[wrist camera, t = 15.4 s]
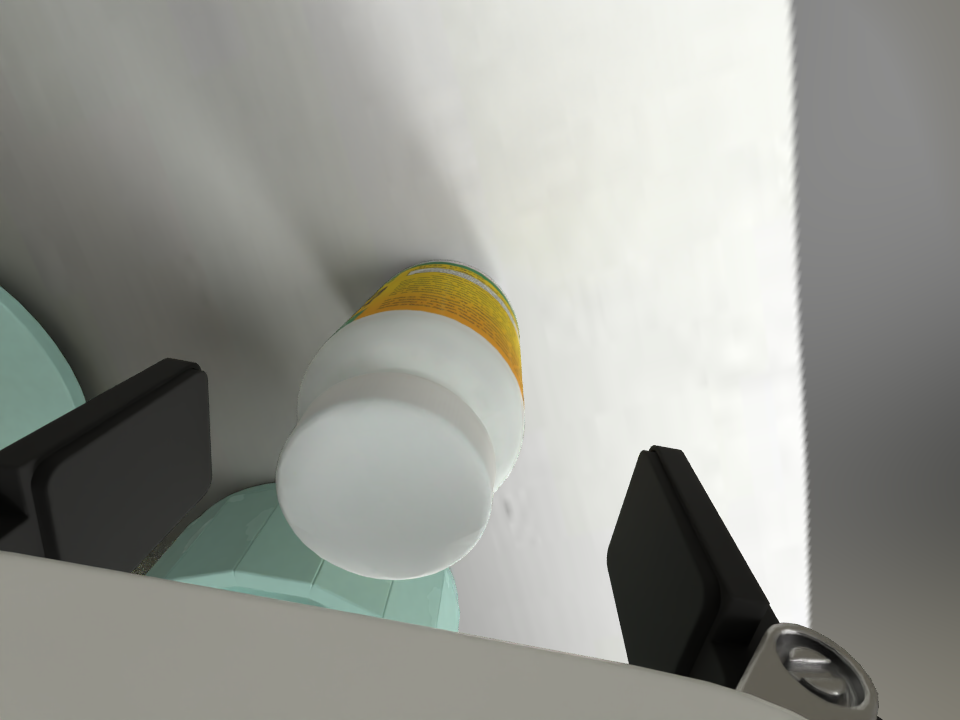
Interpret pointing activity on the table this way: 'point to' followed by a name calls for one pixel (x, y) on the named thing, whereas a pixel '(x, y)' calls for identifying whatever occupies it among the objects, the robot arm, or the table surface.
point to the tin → (294, 566)
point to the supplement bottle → (407, 425)
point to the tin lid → (30, 375)
